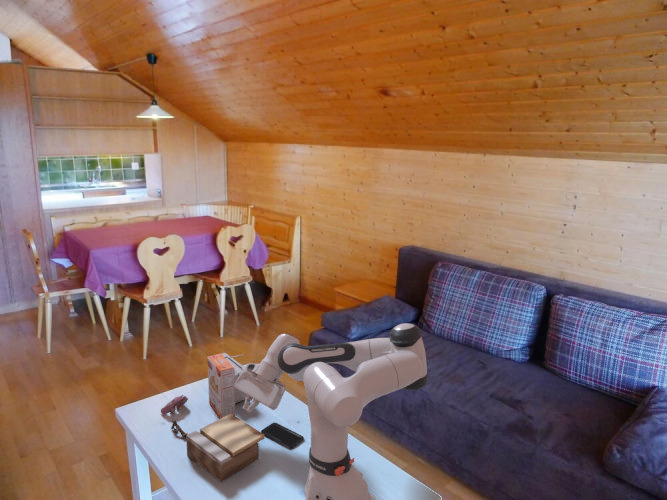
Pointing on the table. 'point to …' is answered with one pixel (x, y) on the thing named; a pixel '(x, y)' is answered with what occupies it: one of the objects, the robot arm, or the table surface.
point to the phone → (282, 435)
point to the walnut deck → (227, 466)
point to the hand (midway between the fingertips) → (246, 410)
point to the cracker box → (221, 385)
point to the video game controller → (174, 404)
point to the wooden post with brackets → (178, 429)
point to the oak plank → (232, 434)
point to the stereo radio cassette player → (236, 375)
